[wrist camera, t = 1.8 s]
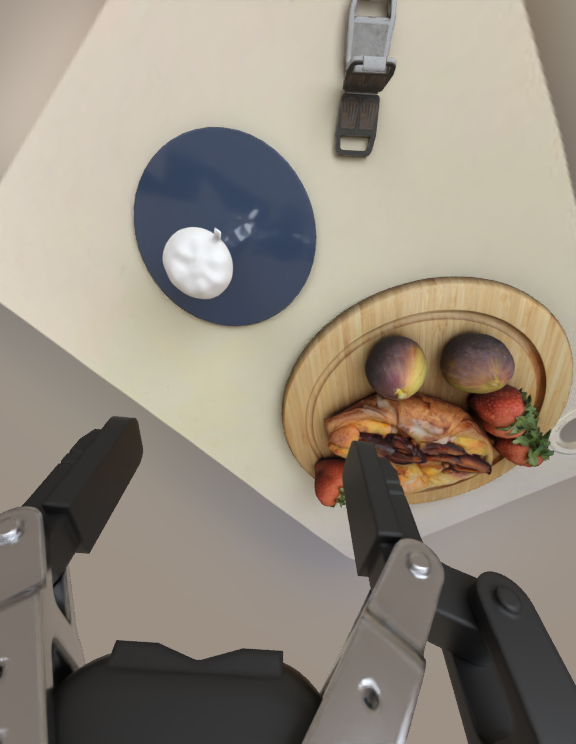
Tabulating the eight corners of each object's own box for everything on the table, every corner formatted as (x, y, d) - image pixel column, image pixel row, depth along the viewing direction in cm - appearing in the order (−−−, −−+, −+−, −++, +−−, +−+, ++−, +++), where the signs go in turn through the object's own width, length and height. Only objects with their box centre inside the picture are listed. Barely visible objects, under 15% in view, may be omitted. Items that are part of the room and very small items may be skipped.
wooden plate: (337, 512, 48) (344, 568, 41) (233, 352, 33) (216, 397, 26) (562, 453, 40) (619, 509, 33) (556, 209, 25) (658, 216, 18)
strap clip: (349, -8, 19) (361, -54, 16) (396, -6, 19) (419, -51, 16) (333, 155, 24) (339, 149, 20) (371, 157, 24) (384, 151, 20)
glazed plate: (105, 247, 28) (102, 248, 27) (202, 68, 21) (199, 65, 21) (243, 351, 33) (242, 354, 32) (353, 234, 27) (354, 235, 26)
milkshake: (264, 236, 26) (250, 258, 18) (229, 282, 28) (200, 321, 20) (222, 196, 25) (183, 199, 16) (187, 248, 27) (137, 275, 18)
